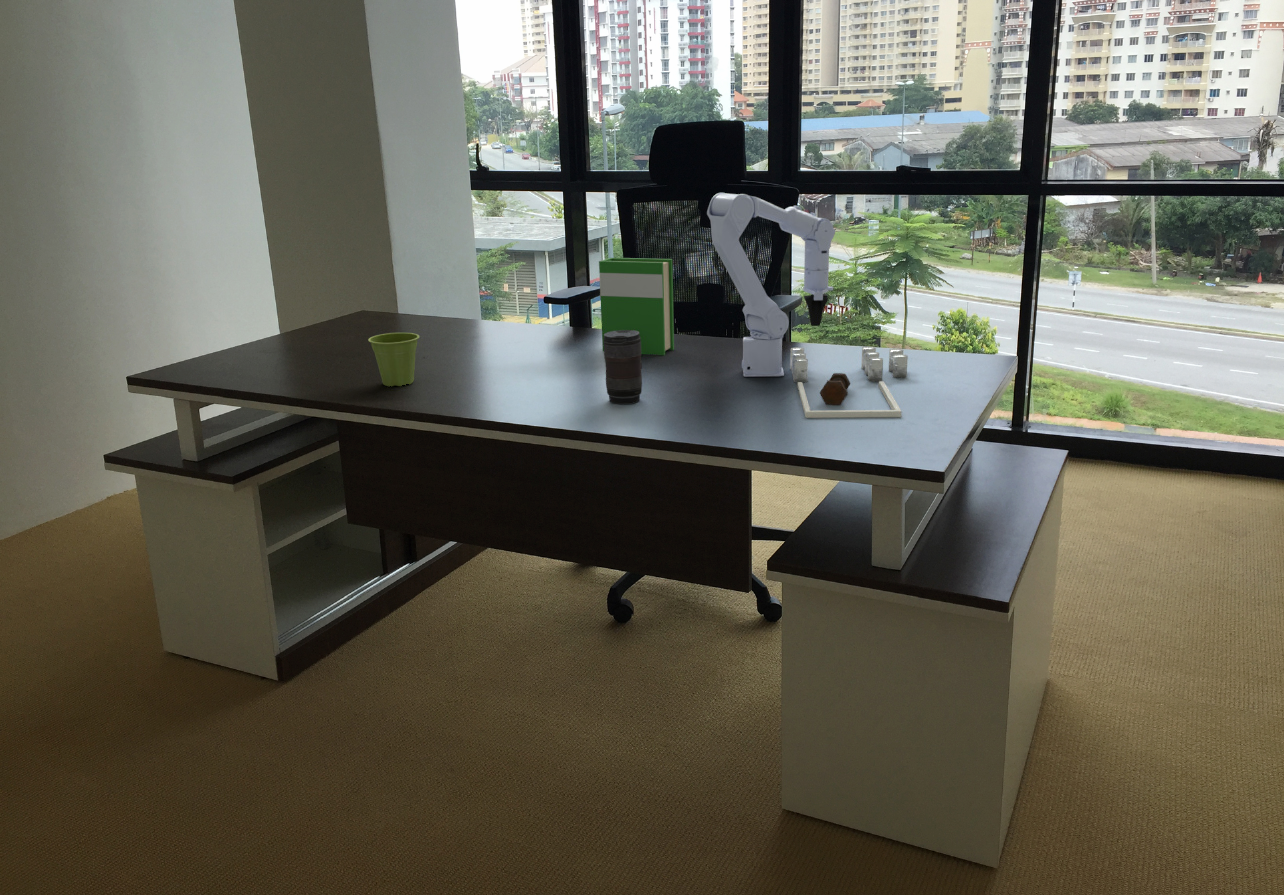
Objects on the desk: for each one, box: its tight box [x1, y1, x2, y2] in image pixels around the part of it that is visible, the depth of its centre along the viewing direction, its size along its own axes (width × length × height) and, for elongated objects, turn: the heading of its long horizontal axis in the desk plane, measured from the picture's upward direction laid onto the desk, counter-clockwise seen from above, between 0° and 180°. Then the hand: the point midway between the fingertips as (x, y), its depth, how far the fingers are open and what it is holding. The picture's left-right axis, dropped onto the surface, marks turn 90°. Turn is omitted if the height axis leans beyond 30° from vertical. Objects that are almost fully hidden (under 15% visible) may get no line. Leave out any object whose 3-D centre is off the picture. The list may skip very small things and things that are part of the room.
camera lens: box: [603, 330, 643, 405], centre depth 222 cm, size 8×8×15 cm
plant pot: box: [368, 332, 420, 387], centre depth 244 cm, size 12×12×11 cm
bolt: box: [819, 372, 851, 406], centre depth 222 cm, size 6×5×15 cm
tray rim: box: [797, 380, 902, 419], centre depth 218 cm, size 19×25×1 cm
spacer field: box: [789, 346, 909, 384], centre depth 240 cm, size 26×15×5 cm, turn 85°
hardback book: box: [598, 257, 675, 356], centre depth 270 cm, size 18×7×24 cm, turn 67°
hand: (815, 325), depth 248 cm, fingers closed
